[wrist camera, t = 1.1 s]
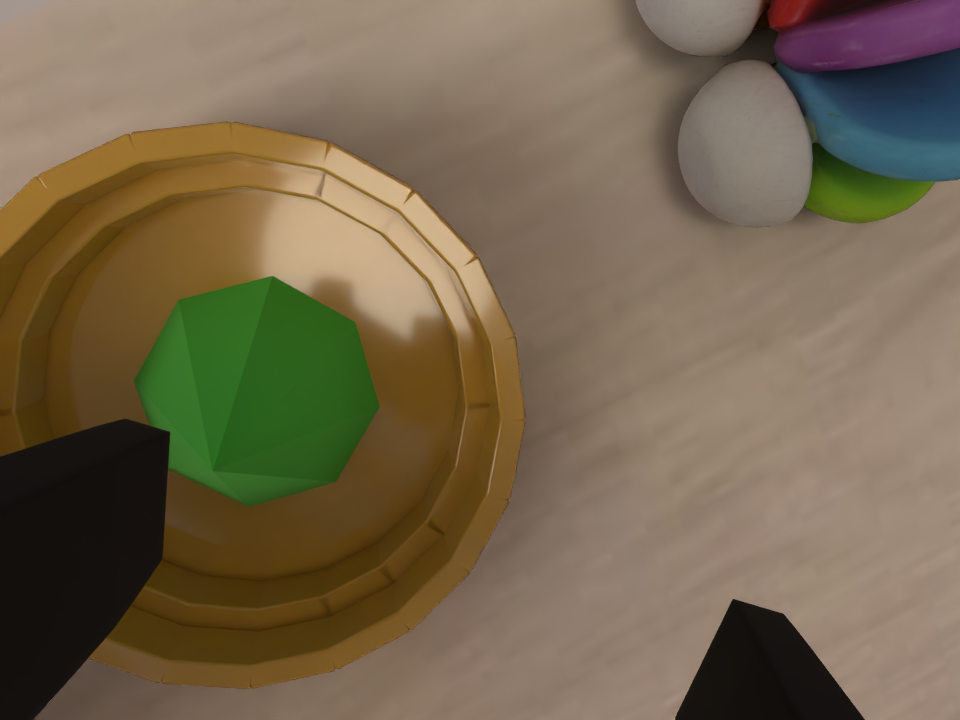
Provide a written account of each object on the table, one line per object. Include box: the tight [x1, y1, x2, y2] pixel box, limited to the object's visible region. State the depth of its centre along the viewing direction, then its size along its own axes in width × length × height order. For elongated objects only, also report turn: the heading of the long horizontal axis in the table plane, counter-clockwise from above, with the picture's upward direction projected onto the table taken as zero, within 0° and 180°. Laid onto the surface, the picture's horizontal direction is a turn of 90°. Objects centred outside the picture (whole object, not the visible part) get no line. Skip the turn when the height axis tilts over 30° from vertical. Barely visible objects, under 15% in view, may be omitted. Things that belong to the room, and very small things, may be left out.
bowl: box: [0, 122, 525, 689], centre depth 17 cm, size 12×12×4 cm
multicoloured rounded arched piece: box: [635, 0, 960, 227], centre depth 16 cm, size 8×10×7 cm
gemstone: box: [134, 276, 380, 507], centre depth 15 cm, size 6×6×6 cm
